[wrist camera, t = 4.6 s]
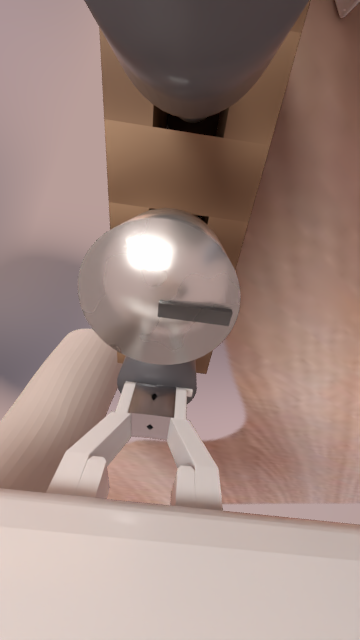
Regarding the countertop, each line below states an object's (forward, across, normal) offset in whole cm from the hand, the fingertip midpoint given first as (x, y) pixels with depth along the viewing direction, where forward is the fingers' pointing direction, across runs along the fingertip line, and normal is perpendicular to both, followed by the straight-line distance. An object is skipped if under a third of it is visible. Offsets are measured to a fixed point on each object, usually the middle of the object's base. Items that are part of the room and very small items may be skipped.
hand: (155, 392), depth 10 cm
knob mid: (+5, 0, -6) cm, 8 cm away
